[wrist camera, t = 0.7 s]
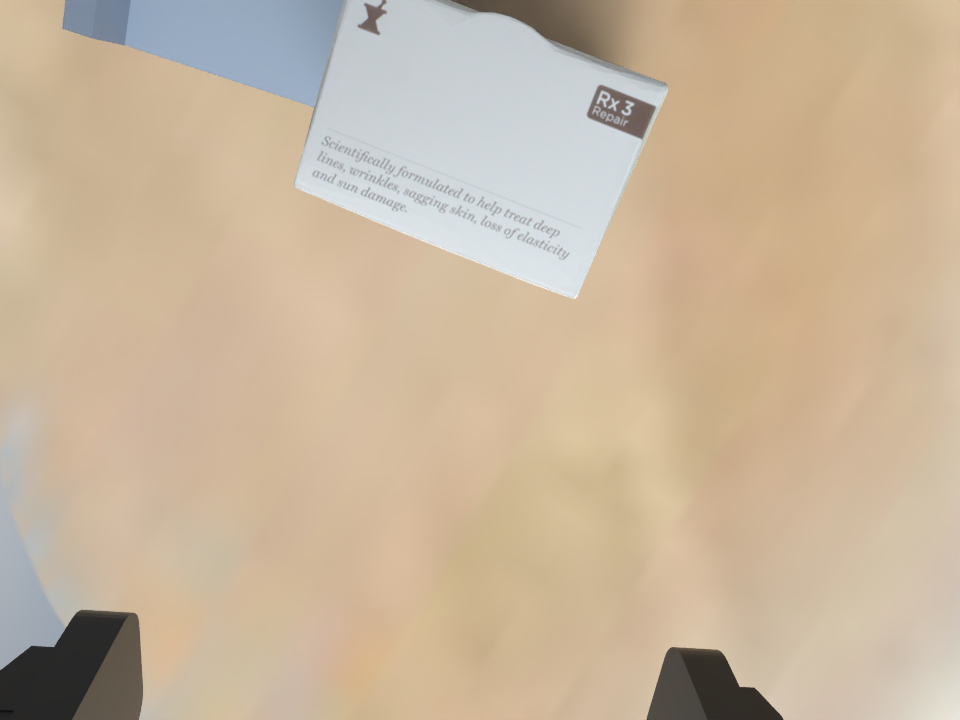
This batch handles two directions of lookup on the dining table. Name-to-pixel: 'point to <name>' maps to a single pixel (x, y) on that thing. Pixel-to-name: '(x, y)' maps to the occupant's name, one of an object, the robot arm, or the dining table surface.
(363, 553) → the dining table surface
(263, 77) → the tray
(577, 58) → the skincare box
